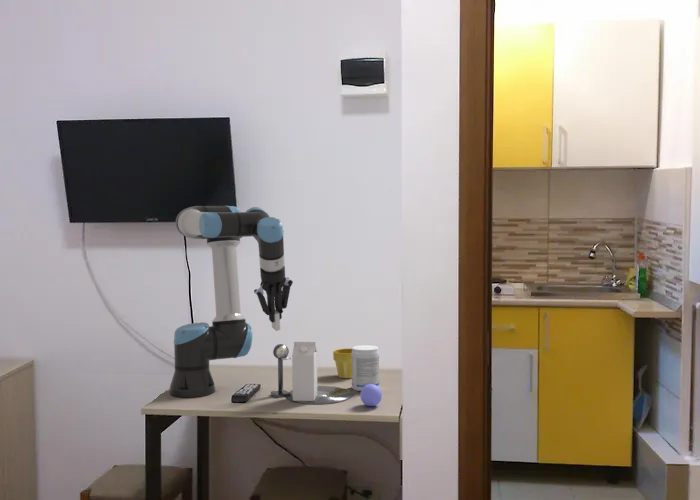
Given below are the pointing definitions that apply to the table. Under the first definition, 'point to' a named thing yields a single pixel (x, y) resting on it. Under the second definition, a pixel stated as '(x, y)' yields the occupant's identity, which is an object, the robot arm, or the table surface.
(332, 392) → the turntable
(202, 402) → the table surface
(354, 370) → the supplement tub
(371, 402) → the sphere
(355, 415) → the table surface
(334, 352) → the plant pot
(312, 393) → the milk carton
